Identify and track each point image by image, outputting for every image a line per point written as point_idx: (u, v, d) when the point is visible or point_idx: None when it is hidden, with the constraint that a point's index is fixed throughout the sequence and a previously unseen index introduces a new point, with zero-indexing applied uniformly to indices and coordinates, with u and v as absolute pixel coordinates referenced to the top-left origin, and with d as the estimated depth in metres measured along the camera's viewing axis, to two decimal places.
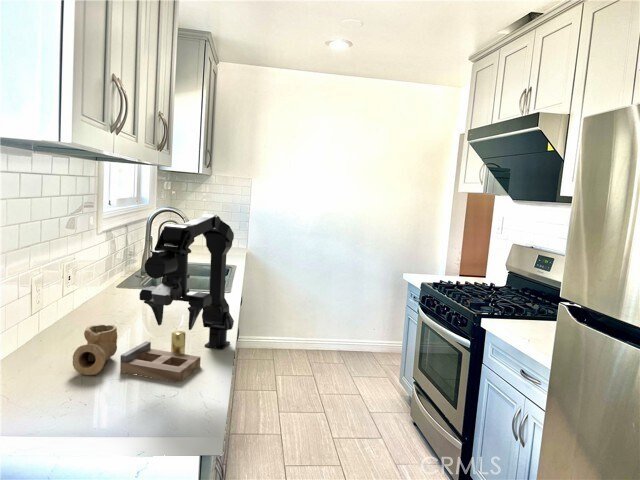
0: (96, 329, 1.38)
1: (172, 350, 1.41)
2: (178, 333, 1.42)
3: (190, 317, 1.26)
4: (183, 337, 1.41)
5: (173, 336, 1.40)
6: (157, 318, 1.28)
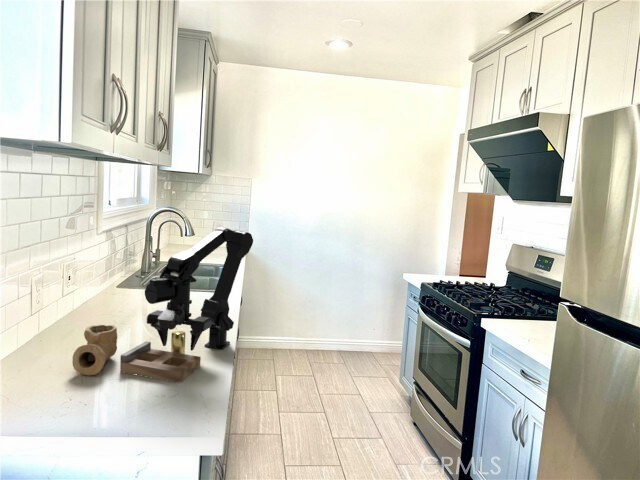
0: (96, 329, 1.38)
1: (172, 350, 1.41)
2: (178, 333, 1.42)
3: (192, 339, 1.40)
4: (183, 337, 1.41)
5: (173, 336, 1.40)
6: (162, 340, 1.42)
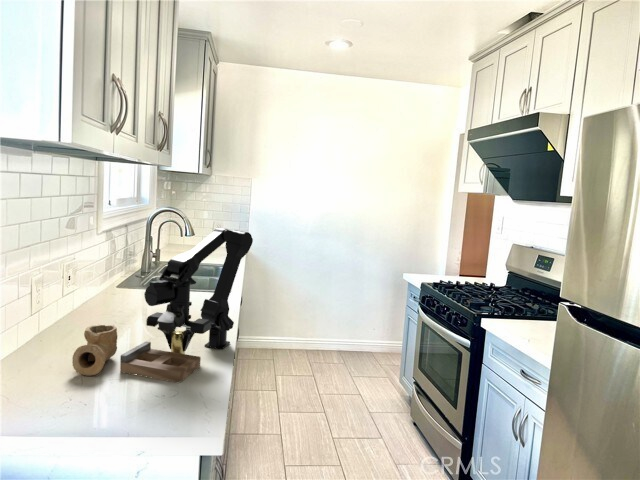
0: (96, 329, 1.38)
1: (172, 350, 1.41)
2: (178, 333, 1.42)
3: (184, 340, 1.40)
4: (183, 337, 1.41)
5: (173, 336, 1.40)
6: (169, 343, 1.42)
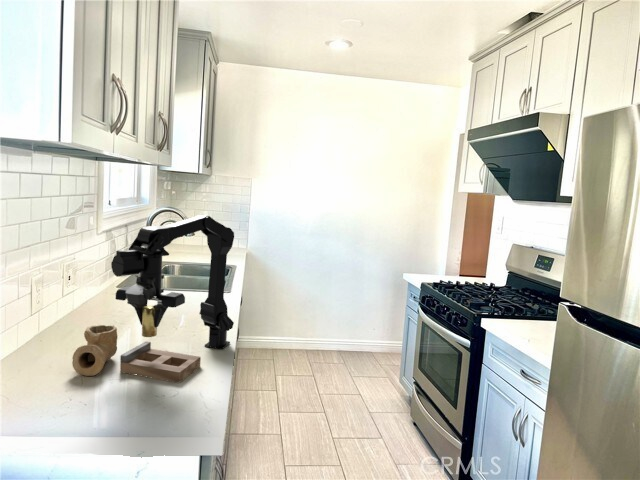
0: (96, 329, 1.38)
1: (143, 326, 1.32)
2: (150, 307, 1.33)
3: (156, 315, 1.31)
4: None
5: (144, 310, 1.31)
6: (140, 318, 1.33)
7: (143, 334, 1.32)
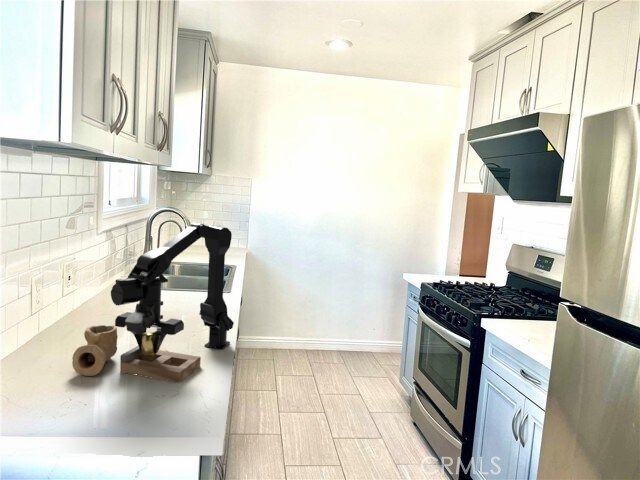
0: (96, 330, 1.38)
1: (142, 352, 1.33)
2: (149, 334, 1.33)
3: (155, 342, 1.32)
4: None
5: (143, 337, 1.32)
6: (139, 344, 1.34)
7: None
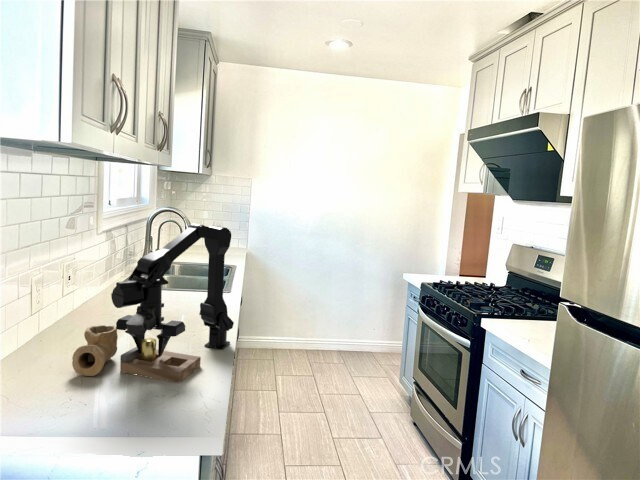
0: (96, 330, 1.38)
1: (142, 358, 1.33)
2: (149, 340, 1.34)
3: (159, 344, 1.32)
4: (154, 345, 1.33)
5: (143, 344, 1.32)
6: (138, 347, 1.34)
7: None
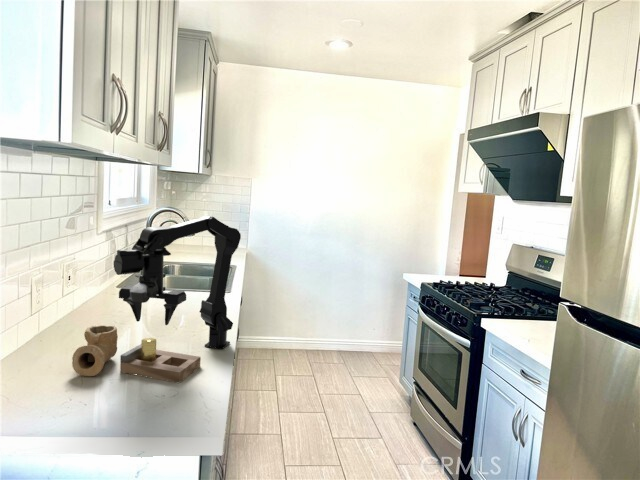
0: (96, 330, 1.38)
1: (142, 358, 1.33)
2: (149, 340, 1.34)
3: (166, 313, 1.36)
4: (154, 345, 1.33)
5: (143, 344, 1.32)
6: (135, 315, 1.38)
7: None
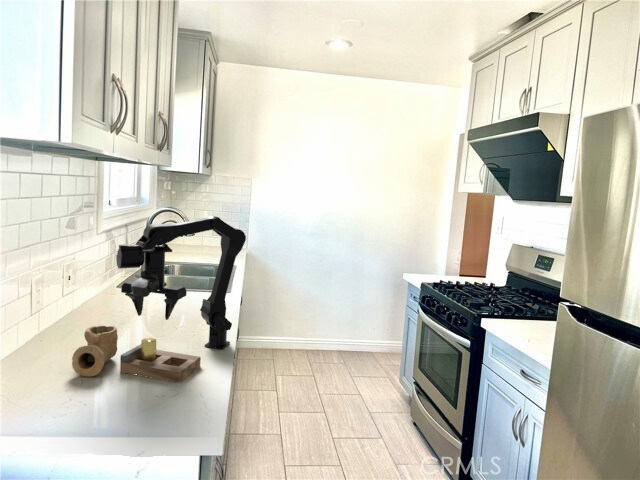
0: (96, 330, 1.37)
1: (142, 358, 1.33)
2: (149, 340, 1.34)
3: (166, 308, 1.39)
4: (153, 345, 1.33)
5: (143, 344, 1.32)
6: (137, 309, 1.42)
7: None
